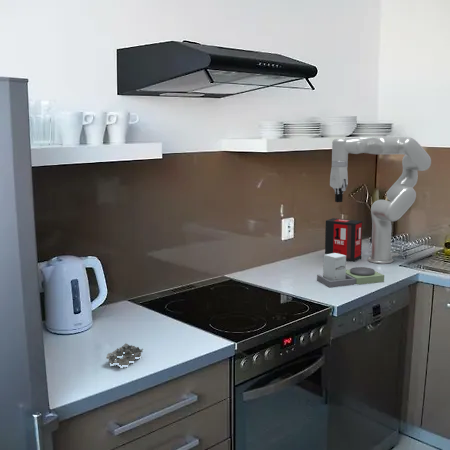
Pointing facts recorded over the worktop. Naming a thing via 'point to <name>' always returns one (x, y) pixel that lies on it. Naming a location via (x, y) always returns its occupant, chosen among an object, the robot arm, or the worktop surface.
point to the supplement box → (334, 266)
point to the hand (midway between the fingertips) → (338, 201)
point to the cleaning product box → (344, 238)
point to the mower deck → (354, 277)
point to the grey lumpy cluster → (128, 354)
